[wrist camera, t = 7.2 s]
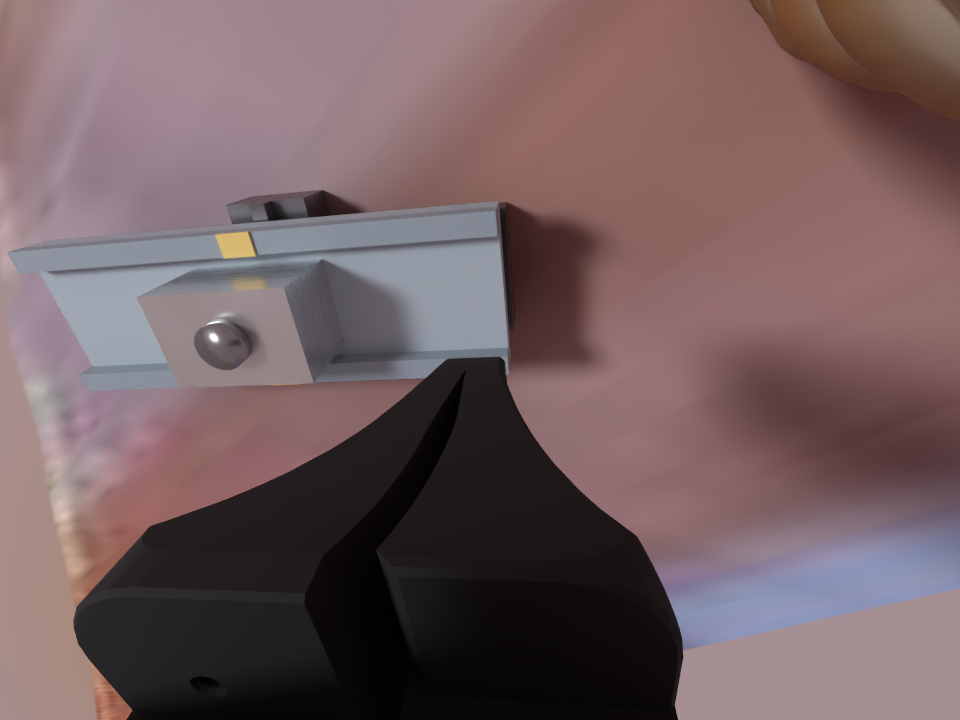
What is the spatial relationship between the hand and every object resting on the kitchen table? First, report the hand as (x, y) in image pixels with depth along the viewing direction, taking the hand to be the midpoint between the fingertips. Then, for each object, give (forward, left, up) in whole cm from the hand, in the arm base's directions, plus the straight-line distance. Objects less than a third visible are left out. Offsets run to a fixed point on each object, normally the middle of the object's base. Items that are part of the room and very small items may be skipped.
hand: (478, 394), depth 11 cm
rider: (0, +9, -6) cm, 11 cm away
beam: (0, +9, -8) cm, 12 cm away
